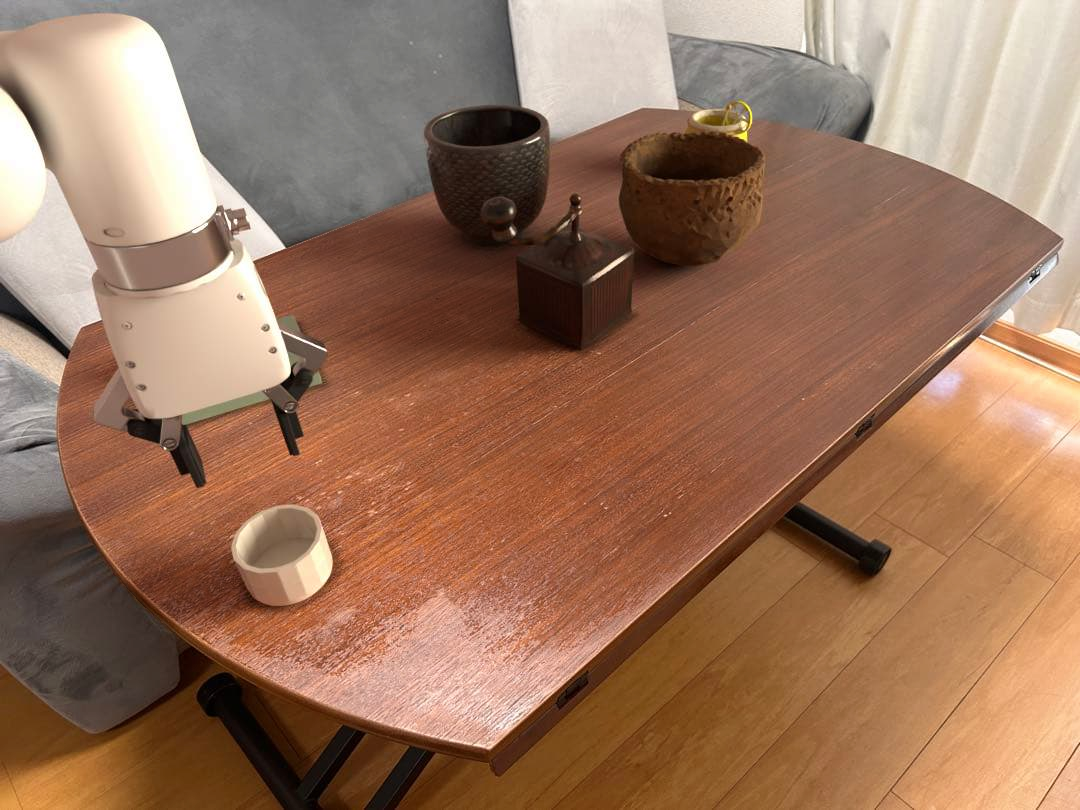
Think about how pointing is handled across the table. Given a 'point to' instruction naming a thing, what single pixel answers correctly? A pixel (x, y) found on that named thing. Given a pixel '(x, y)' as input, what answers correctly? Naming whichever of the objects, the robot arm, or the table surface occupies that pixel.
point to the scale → (247, 399)
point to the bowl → (691, 194)
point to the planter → (488, 165)
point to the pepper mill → (566, 276)
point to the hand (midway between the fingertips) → (245, 458)
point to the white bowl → (282, 555)
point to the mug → (721, 121)
